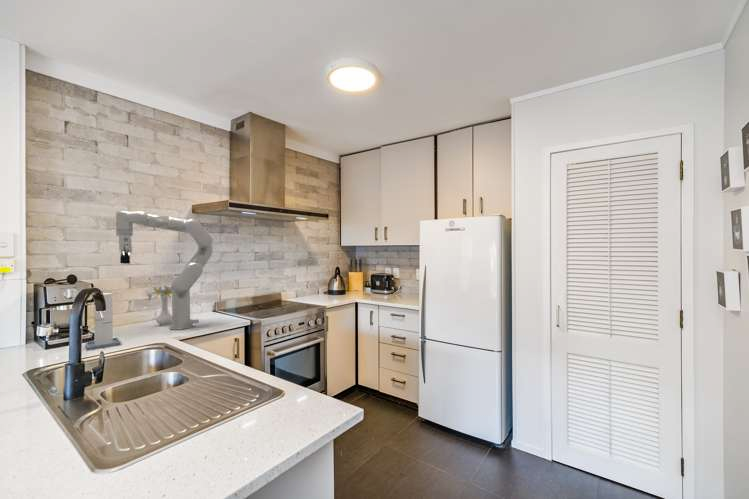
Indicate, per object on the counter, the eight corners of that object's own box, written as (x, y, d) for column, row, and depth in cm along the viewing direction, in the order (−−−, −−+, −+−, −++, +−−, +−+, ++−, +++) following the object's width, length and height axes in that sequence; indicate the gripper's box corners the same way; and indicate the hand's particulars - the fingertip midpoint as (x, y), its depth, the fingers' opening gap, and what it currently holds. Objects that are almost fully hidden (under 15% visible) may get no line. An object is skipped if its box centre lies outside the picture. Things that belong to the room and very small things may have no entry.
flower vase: (144, 326, 213) (143, 286, 213) (176, 321, 227) (176, 283, 227) (150, 329, 205) (149, 287, 205) (183, 323, 218) (182, 285, 218)
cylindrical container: (97, 343, 172) (96, 293, 172) (114, 341, 175) (113, 292, 175) (92, 346, 166) (91, 295, 166) (110, 344, 169) (109, 294, 169)
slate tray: (117, 340, 179) (117, 337, 179) (120, 345, 170) (120, 342, 170) (85, 345, 171) (85, 342, 171) (86, 350, 161) (86, 347, 161)
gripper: (135, 232, 188) (135, 263, 188) (130, 233, 201) (130, 262, 201) (118, 232, 183) (118, 263, 183) (114, 233, 196) (115, 263, 196)
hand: (125, 263), depth 192 cm, fingers open, 9 cm apart
